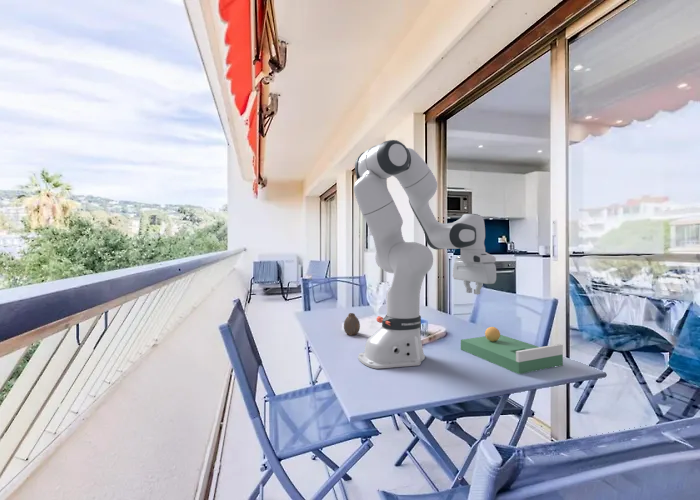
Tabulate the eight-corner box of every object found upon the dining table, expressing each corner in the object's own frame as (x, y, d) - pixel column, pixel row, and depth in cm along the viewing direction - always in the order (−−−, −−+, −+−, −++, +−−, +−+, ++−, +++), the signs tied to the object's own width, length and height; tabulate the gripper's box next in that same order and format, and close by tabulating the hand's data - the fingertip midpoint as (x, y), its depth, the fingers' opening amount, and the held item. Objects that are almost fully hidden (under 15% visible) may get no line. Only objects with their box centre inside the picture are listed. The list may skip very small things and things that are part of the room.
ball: (492, 343, 123) (492, 329, 123) (481, 340, 127) (481, 326, 127) (503, 342, 125) (503, 327, 125) (492, 338, 129) (492, 324, 129)
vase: (340, 334, 152) (340, 313, 152) (352, 331, 157) (352, 311, 157) (351, 337, 147) (351, 316, 147) (363, 334, 152) (363, 313, 151)
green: (518, 374, 104) (518, 352, 104) (460, 349, 128) (460, 331, 128) (562, 365, 111) (562, 344, 111) (499, 343, 135) (499, 326, 135)
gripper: (448, 256, 143) (449, 290, 143) (485, 258, 124) (485, 297, 124) (461, 255, 145) (461, 289, 146) (499, 257, 126) (499, 296, 127)
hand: (473, 293), depth 135 cm, fingers open, 3 cm apart
